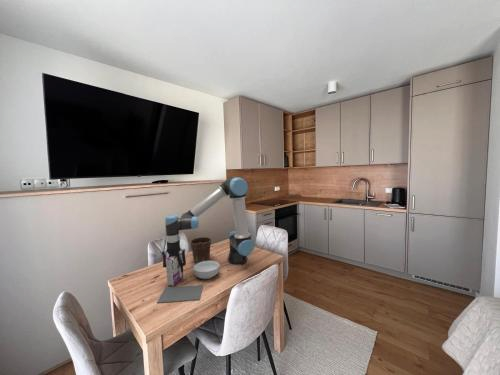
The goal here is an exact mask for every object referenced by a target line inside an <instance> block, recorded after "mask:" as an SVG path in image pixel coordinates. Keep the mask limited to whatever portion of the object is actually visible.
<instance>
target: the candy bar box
mask: <svg viewBox="0 0 500 375" xmlns="http://www.w3.org/2000/svg"><path fill="white" fill-rule="evenodd" d="M179 255H180V258H181V260H182V263H183V259H182V253H181V251H180V252H179ZM179 267H180V264H179V262H178V259H177V256H171V257H169V256H168V257H166V267H165V270H166V284H167V285H168V286H176V284H178V283H179V281H181V279H182V278H183V277H184V271H183V272H182V277H181V278H180V273H179Z"/></svg>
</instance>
